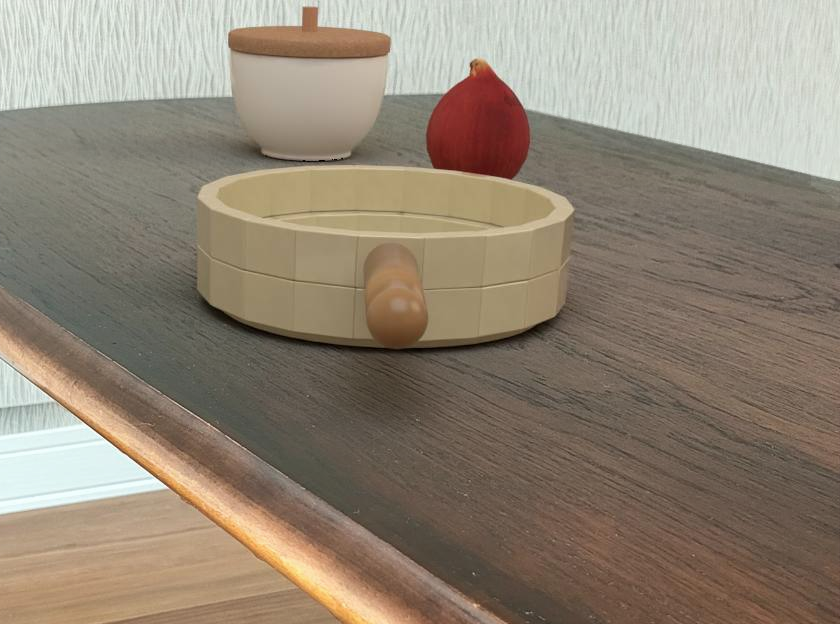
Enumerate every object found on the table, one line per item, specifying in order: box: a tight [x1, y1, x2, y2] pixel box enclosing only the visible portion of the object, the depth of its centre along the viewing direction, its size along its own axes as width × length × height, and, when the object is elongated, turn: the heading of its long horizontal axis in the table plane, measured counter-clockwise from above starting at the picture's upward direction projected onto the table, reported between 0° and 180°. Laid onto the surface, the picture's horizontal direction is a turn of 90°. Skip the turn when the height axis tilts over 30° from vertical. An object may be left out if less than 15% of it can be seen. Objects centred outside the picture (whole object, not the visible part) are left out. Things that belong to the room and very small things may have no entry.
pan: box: [196, 164, 576, 349], centre depth 62 cm, size 16×16×4 cm
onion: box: [425, 58, 531, 180], centre depth 82 cm, size 6×6×8 cm
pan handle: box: [363, 243, 428, 350], centre depth 50 cm, size 2×9×2 cm, turn 178°
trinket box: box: [227, 5, 392, 162], centre depth 96 cm, size 11×11×9 cm
